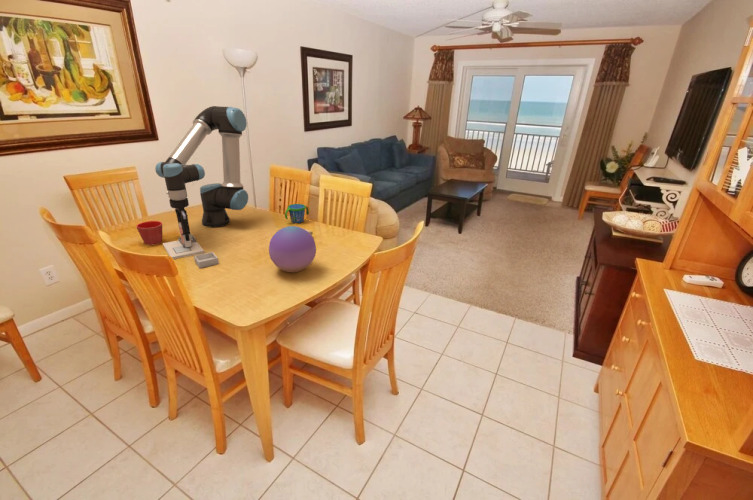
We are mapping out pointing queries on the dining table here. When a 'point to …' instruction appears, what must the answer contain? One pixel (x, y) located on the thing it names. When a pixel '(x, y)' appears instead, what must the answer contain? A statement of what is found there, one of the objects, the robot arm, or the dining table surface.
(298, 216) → the snack cup
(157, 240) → the flower pot
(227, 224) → the robot arm
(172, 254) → the board
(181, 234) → the tumbler
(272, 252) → the ball
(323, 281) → the dining table surface
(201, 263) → the tray
